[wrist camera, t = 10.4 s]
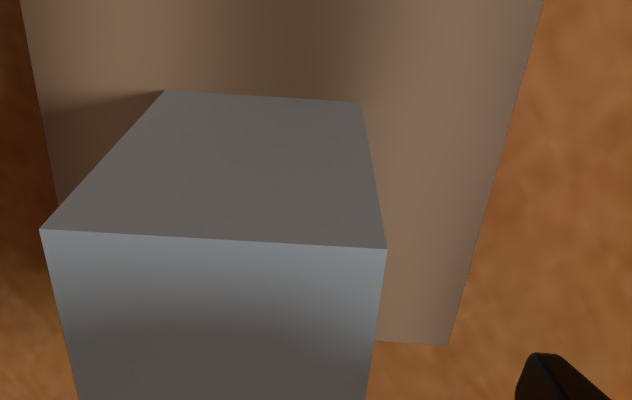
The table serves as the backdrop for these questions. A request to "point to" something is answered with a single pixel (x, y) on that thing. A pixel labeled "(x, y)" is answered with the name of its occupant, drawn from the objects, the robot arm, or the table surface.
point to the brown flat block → (312, 83)
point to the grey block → (223, 254)
